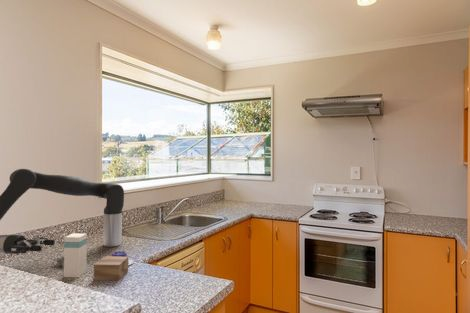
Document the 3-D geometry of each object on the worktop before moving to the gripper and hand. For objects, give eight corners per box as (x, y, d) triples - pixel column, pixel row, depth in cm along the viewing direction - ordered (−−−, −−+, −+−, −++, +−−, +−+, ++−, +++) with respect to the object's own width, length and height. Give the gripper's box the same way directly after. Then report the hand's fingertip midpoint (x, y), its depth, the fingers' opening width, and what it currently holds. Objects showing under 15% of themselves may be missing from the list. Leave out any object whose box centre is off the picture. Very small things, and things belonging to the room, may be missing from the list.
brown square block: (104, 270, 132) (104, 256, 132) (128, 270, 132) (128, 256, 132) (93, 279, 122) (93, 264, 122) (118, 280, 122) (119, 265, 122)
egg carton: (76, 258, 147) (76, 249, 147) (86, 261, 143) (86, 252, 143) (53, 265, 137) (54, 256, 137) (64, 268, 134) (64, 258, 134)
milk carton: (71, 271, 130) (72, 233, 130) (86, 271, 130) (86, 233, 130) (63, 277, 124) (64, 237, 124) (78, 277, 124) (79, 237, 124)
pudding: (99, 264, 139) (99, 253, 139) (124, 258, 148) (124, 247, 148) (113, 271, 131) (113, 259, 131) (138, 264, 141) (138, 252, 140)
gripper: (-5, 239, 120) (37, 240, 120) (21, 230, 134) (58, 232, 134) (-5, 258, 120) (36, 260, 120) (21, 248, 134) (58, 249, 134)
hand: (48, 245), depth 127 cm, fingers open, 8 cm apart
